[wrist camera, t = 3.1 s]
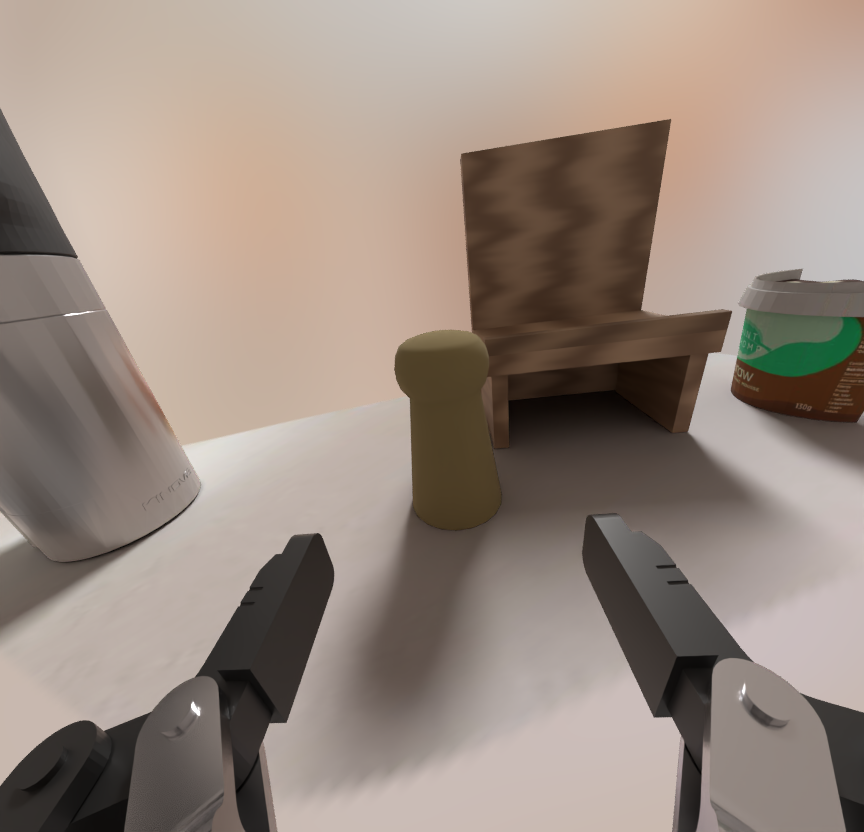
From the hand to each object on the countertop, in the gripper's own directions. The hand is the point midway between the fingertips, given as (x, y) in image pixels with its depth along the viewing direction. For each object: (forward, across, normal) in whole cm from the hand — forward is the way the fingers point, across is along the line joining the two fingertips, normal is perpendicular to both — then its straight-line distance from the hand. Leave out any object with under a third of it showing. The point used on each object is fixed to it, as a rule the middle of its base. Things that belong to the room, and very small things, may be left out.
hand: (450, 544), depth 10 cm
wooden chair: (+20, -11, +6) cm, 24 cm away
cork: (+10, 0, +7) cm, 12 cm away
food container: (+20, -28, +7) cm, 35 cm away
